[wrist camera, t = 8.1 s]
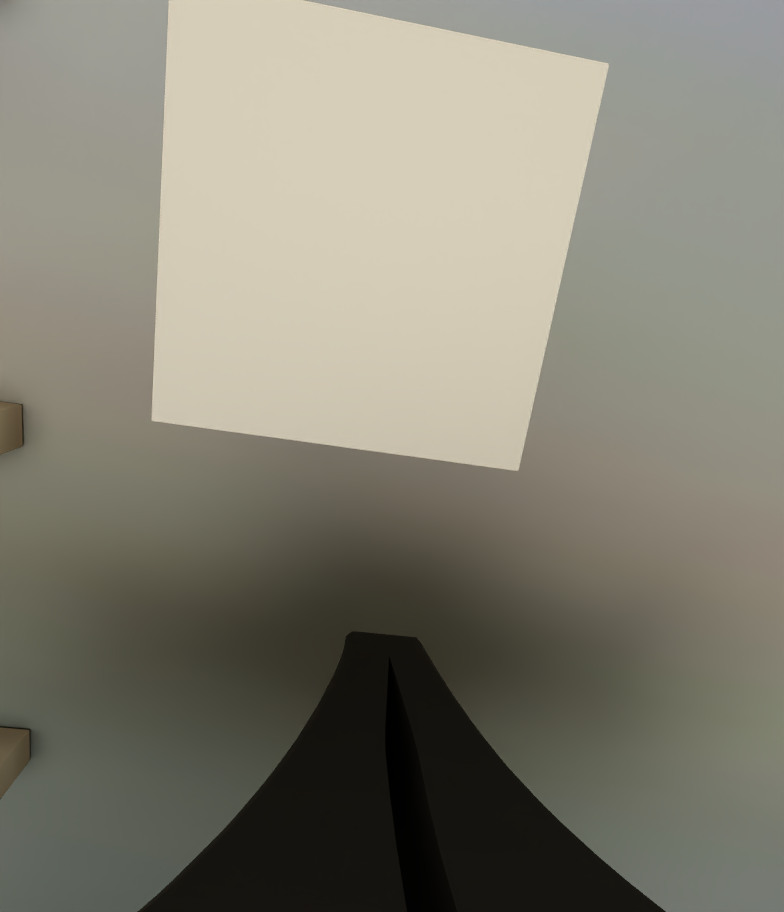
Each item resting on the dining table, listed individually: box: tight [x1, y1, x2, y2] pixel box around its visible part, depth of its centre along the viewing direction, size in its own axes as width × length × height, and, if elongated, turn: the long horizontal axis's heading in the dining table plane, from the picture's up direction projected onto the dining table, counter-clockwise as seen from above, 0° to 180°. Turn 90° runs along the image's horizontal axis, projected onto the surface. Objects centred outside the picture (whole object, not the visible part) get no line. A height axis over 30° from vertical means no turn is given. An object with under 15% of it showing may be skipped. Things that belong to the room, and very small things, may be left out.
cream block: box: [152, 0, 609, 471], centre depth 8 cm, size 4×4×4 cm
